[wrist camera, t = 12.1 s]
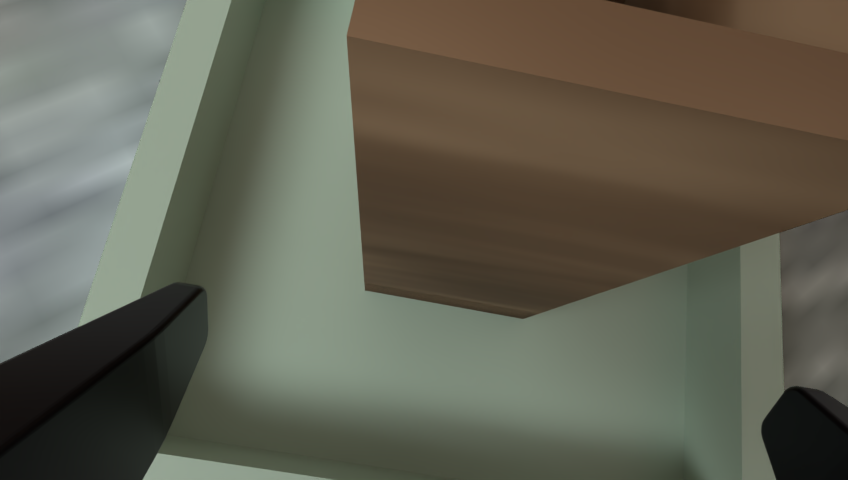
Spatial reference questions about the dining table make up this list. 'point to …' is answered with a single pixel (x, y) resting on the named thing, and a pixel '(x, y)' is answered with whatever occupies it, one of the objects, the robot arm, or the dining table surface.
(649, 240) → the walnut crate
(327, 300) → the green square tray
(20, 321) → the dining table surface
